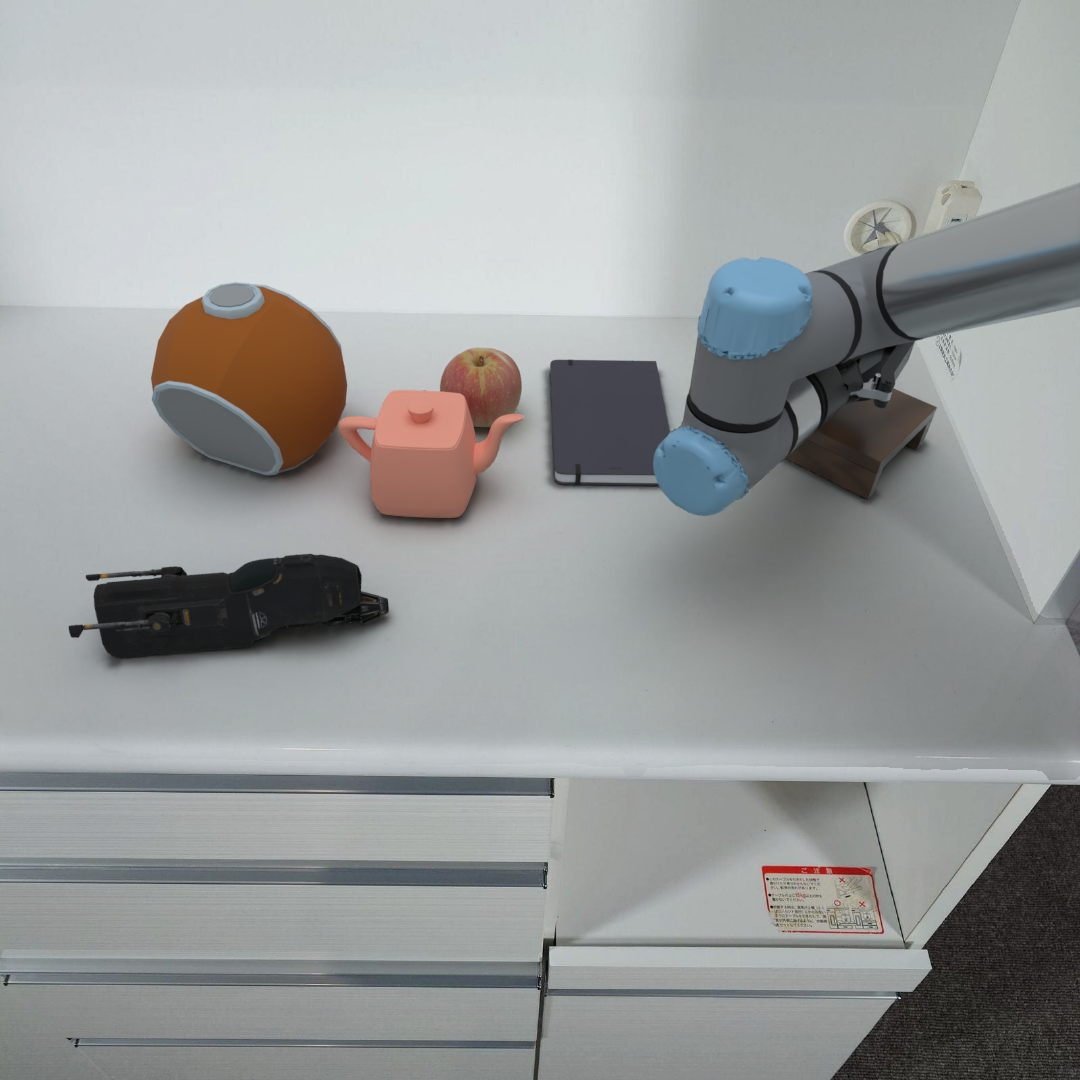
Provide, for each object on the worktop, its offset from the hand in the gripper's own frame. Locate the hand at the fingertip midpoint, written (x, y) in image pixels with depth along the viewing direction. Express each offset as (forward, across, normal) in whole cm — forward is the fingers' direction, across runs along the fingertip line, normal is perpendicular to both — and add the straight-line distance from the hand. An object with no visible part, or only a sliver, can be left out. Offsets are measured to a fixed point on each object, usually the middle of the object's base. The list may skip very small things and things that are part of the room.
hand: (905, 305), depth 94 cm
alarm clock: (-49, -46, -15) cm, 69 cm away
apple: (-30, -32, -15) cm, 46 cm away
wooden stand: (-6, -1, -15) cm, 16 cm away
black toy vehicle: (-66, -25, -15) cm, 72 cm away
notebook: (-21, -21, -15) cm, 33 cm away
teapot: (-42, -27, -15) cm, 52 cm away
